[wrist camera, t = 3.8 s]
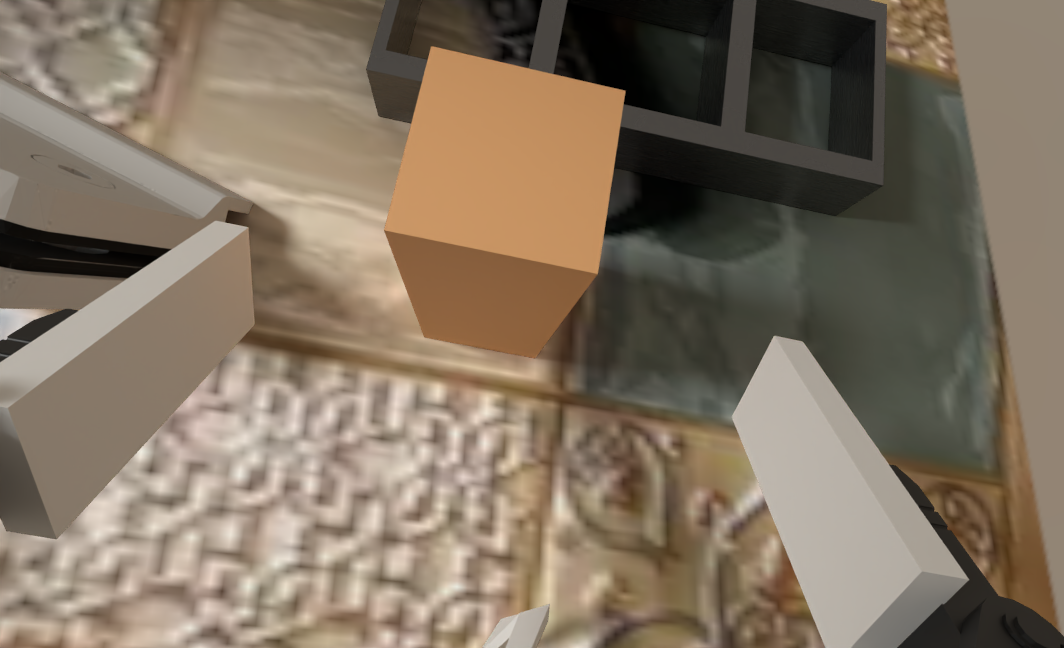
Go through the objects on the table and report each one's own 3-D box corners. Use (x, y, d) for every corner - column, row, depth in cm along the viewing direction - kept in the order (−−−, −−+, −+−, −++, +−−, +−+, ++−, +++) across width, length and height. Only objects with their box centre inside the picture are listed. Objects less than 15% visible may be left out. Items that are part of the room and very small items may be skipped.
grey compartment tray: (378, 115, 24) (366, 69, 21) (423, -50, 26) (418, -113, 23) (835, 215, 25) (883, 185, 22) (842, 51, 27) (886, 4, 25)
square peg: (534, 358, 22) (598, 274, 12) (424, 337, 22) (384, 230, 11) (553, 255, 23) (625, 90, 13) (447, 233, 23) (430, 45, 12)
